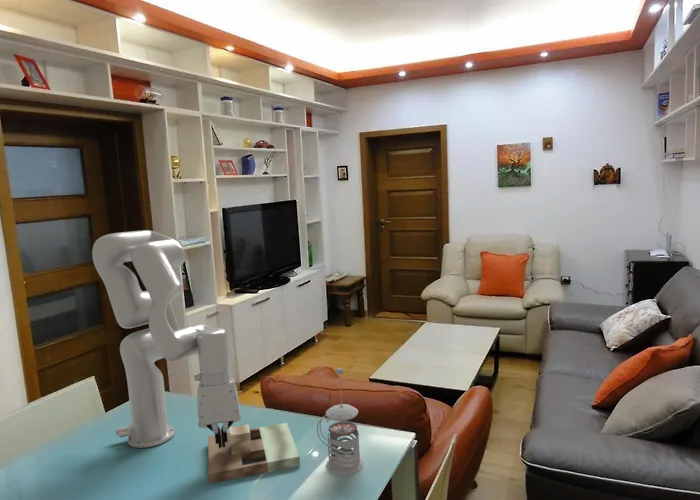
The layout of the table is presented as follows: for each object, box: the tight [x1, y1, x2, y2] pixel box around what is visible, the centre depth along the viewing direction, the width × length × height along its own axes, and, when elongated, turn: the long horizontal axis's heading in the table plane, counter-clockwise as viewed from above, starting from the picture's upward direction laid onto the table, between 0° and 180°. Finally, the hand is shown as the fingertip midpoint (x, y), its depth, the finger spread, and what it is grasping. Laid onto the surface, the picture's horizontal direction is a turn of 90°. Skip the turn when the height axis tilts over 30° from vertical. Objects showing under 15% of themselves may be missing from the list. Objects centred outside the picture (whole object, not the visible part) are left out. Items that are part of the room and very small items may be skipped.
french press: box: [316, 367, 365, 477], centre depth 125 cm, size 10×12×25 cm
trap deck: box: [207, 422, 301, 485], centre depth 133 cm, size 22×20×2 cm
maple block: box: [229, 423, 252, 454], centre depth 132 cm, size 5×5×5 cm
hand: (221, 445), depth 130 cm, fingers closed
